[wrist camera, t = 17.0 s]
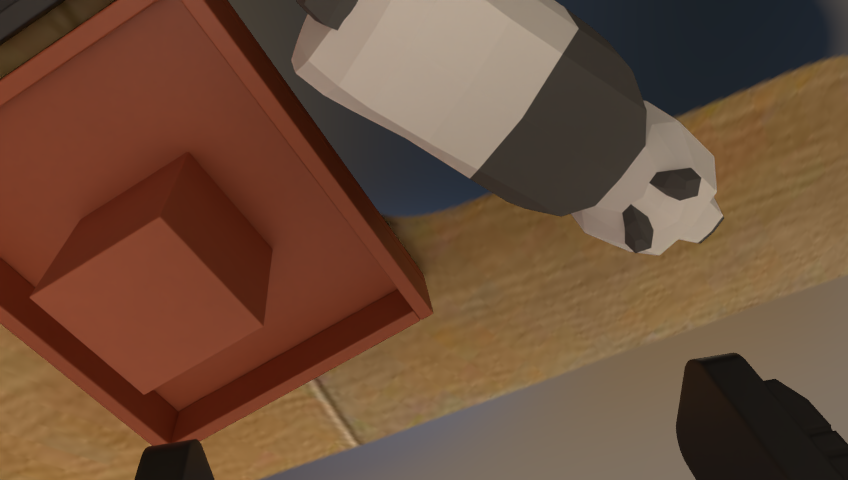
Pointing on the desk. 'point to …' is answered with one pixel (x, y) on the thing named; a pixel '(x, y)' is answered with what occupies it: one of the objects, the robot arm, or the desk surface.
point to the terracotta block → (160, 276)
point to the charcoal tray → (21, 15)
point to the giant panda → (518, 110)
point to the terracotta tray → (233, 173)
